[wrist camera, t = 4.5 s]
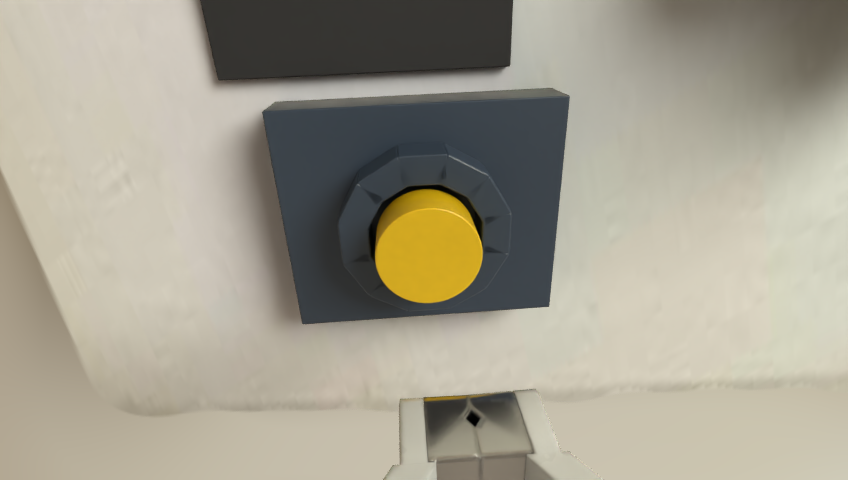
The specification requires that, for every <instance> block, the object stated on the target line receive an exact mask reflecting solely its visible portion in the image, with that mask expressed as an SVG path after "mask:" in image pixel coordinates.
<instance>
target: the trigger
mask: <svg viewBox="0 0 848 480" xmlns="http://www.w3.org/2000/svg"><path fill="white" fill-rule="evenodd" d="M482 257H483V250H482V244H481V240H480V237H479V235H478V232H477V230H476V227H475V225H474V222H473V220H472V217H471V215H470V213H469V211H468V210H467V208H466V207H465V206H464V205H463V204H462V203H461V202H460V201H459V200H458V199H457V198H455V197H454V196H452V195H450V194H448V193H445V192H443V191H439V190H433V189H421V190H415V191H411V192H408V193H405V194H403V195H401V196H400V197H398V198H396V199H395V200H394V201H392V202H391V203H390V204H389V205H388V206H387V208H386V209H385V210H384V212H383V213H382V215H381V217H380V219H379V222H378V225H377V231H376V246H375V264H376V268H377V272H378V274H379V276H380V278H381V280H382V281H383V283H384V284H385V285H386V286H387V287H388V288H389V289H390V290H391V291H392V292H393V293H395V294H396V295H398V296H400V297H402V298H404V299H406V300H409V301H413V302H417V303H436V302H441V301H445V300H448V299H450V298H452V297H454V296H456V295H458V294H460V293H461V292H462V291H464V290H465V289H466V288H467V287H468V286H469V285H470V284H471V283H472V282H473V280H474V279H475V277H476V276H477V274H478V272H479V269H480V267H481V263H482Z"/></svg>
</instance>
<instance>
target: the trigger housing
mask: <svg viewBox="0 0 848 480" xmlns="http://www.w3.org/2000/svg"><path fill="white" fill-rule="evenodd" d="M569 98H570V97H569V95H566V94H564V93H562V92H559V91H557V90H555V89H553V88H543V89H523V90H503V91H483V92H463V93H444V94H424V95H404V96H384V97H364V98H345V99H325V100H305V101H285V102H275V103H273V104H272V105H271V106H269V107H268V108H267V109H265V110H264V111H263V112H262V114H263V119H264V124H265V130H266V135H267V140H268V145H269V151H270V156H271V161H272V166H273V172H274V177H275V182H276V187H277V193H278V198H279V203H280V208H281V214H282V219H283V224H284V229H285V235H286V240H287V245H288V250H289V256H290V261H291V266H292V271H293V277H294V282H295V287H296V292H297V298H298V303H299V308H300V313H301V319H302V323H303V324H313V323H327V322H341V321H355V320H369V319H383V318H397V317H411V316H425V315H439V314H453V313H467V312H481V311H495V310H509V309H523V308H537V307H549V302H550V292H551V282H552V272H553V261H554V251H555V241H556V231H557V221H558V210H559V200H560V190H561V180H562V170H563V159H564V149H565V139H566V129H567V119H568V109H569ZM421 189H433V190H439V191H443V192H445V193H448V194H450V195H452V196H454V197H455V198H457V199H458V200H459V201H460V202H461V203H462V204H463V205H464V206H465V207H466V208H467V210H468V211H469V213H470V215H471V217H472V220H473V222H474V225H475V227H476V230H477V232H478V235H479V237H480V240H481V244H482V250H483V257H482V263H481V267H480V269H479V272H478V274H477V276H476V277H475V279H474V280H473V282H472V283H471V284H470V285H469V286H468V287H467V288H466V289H465V290H464V291H462V292H461V293H460V294H458V295H456V296H454V297H452V298H450V299H448V300H445V301H441V302H436V303H417V302H413V301H409V300H406V299H404V298H402V297H400V296H398V295H396V294H395V293H393V292H392V291H391V290H390V289H389V288H388V287H387V286H386V285H385V284H384V283H383V281H382V280H381V278H380V276H379V274H378V272H377V268H376V264H375V246H376V231H377V225H378V222H379V219H380V217H381V215H382V213H383V212H384V210H385V209H386V208H387V206H388V205H389V204H390V203H391V202H392V201H394V200H395V199H396V198H398V197H400V196H401V195H403V194H405V193H408V192H411V191H415V190H421Z"/></svg>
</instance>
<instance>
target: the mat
mask: <svg viewBox="0 0 848 480" xmlns="http://www.w3.org/2000/svg"><path fill="white" fill-rule="evenodd" d="M200 1H201V5H202V10H203V14H204V19H205V23H206V27H207V32H208V36H209V41H210V45H211V50H212V54H213V59H214V63H215V67H216V72H217V76H218V80H238V79H258V78H279V77H300V76H321V75H341V74H362V73H383V72H404V71H424V70H445V69H466V68H487V67H507V66H510V58H511V34H512V10H513V0H200Z"/></svg>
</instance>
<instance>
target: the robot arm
mask: <svg viewBox="0 0 848 480" xmlns="http://www.w3.org/2000/svg"><path fill="white" fill-rule="evenodd" d="M423 401H424V405H423ZM399 437H400V438H399V439H400V465H393V466H392V467H391V469H390V470H389V472H388V473H387V475H386V476H385V478H384V479H383V480H604V479H603V478H601V477H600V476H599V475H598V474H596V473H595V472H594V471H593V470H592V469H590V468H589V467H588V466H586V465H585V464H584V463H583V462H582V461H580V460H579V459H578V458H577V457H576V456H574V455H573V454H572V453H571V452H569V451H561V448H560V446H559V443H558V441H557V438H556V436H555V433H554V430H553V428H552V425H551V423H550V420H549V418H548V415H547V413H546V410H545V407H544V405H543V402H542V400H541V397H540V395H539V392H538V391H537V390H536V389H529V390H517V391H513V392H512V391H506V392H494V393H483V394H471V395H462V396H442V397H423V398H413V399H400V402H399Z"/></svg>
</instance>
